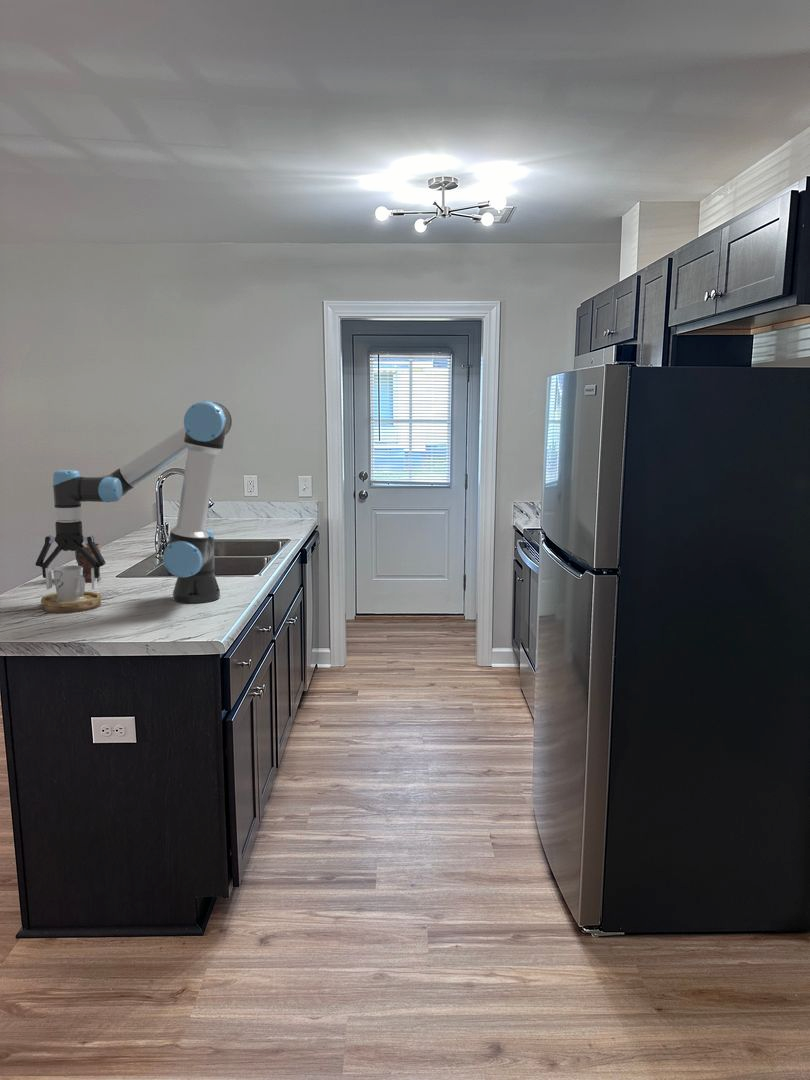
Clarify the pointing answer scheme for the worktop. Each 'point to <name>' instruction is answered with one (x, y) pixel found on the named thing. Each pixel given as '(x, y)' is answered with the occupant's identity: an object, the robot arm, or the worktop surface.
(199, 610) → the worktop surface
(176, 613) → the worktop surface
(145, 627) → the worktop surface
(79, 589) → the mug
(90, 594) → the round wooden tray
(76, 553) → the mortar and pestle
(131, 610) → the worktop surface
